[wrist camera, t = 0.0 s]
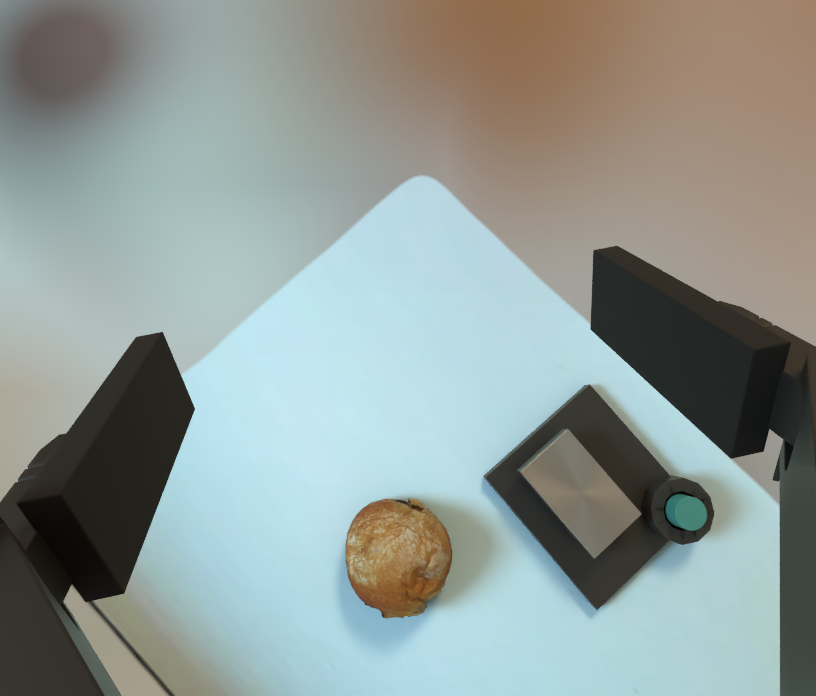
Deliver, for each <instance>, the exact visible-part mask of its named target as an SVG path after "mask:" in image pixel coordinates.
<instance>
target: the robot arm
mask: <svg viewBox="0 0 816 696" xmlns="http://www.w3.org/2000/svg"><path fill="white" fill-rule="evenodd" d="M592 282H593V283H592V308H591V330H592V331H593V332H594V333H595V334H596V335H597V336H598V337H599V338H600V339H601V340H603V341H604V342H605V343H606V344H607V345H608V346H609V347H610V348H611V349H612V350H613V351H615V352H616V353H617V354H618V355H619V356H620V357H621V358H622V359H623V360H624V361H625V362H626V363H628V364H629V365H630V366H631V367H632V368H633V369H634V370H635V371H636V372H637V373H638V374H640V375H641V376H642V377H643V378H644V379H645V380H646V381H647V382H648V383H649V384H650V385H651V386H653V387H654V388H655V389H656V390H657V391H658V392H659V393H660V394H661V395H662V396H663V397H665V398H666V399H667V400H668V401H669V402H670V403H671V404H672V405H673V406H674V407H675V408H676V409H678V410H679V411H680V412H681V413H682V414H683V415H684V416H685V417H686V418H687V419H688V420H690V421H691V422H692V423H693V424H694V425H695V426H696V427H697V428H698V429H699V430H700V431H701V432H703V433H704V434H705V435H706V436H707V437H708V438H709V439H710V440H711V441H712V442H713V443H715V444H716V445H717V446H718V447H719V448H720V449H721V450H722V451H723V452H724V453H725V454H726V455H728V456H729V457H730V458H731V459H732V458H735V457H741V456H745V455H750V454H754V453H758V452H763V451H764V447H765V443H766V439H767V436H768V431H769V429H771V430H772V431H774V432H775V433H776V434H777V435H778V436H780V437H781V438H782V439H784V440H783V444H782V447H781V451H780V454H779V458H778V462H777V465H776V469H775V473H774V476H773V480H775V481H779V480H780V696H816V347H815V346H813V345H811V344H810V343H808V342H806V341H804V340H802V339H800V338H798V337H796V336H795V335H793V334H791V333H789V332H787V331H785V330H783V329H782V328H780V327H778V326H775V325H774V326H773V325H772V323H770V322H769V321H767V320H765V319H763V318H760V319H759V316H757V315H756V314H753V313H752V312H750V311H748V310H746V309H744V308H742V307H739V306H736V305H732V304H728V303H725V302H722V301H718V302H717V301H715V300H714V299H712V298H710V297H708V296H706V295H705V294H703V293H701V292H699V291H697V290H696V289H694V288H692V287H690V286H688V285H687V284H685V283H683V282H681V281H679V280H678V279H676V278H674V277H672V276H671V275H669V274H667V273H665V272H663V271H662V270H660V269H658V268H656V267H654V266H653V265H651V264H649V263H647V262H645V261H644V260H642V259H640V258H638V257H636V256H635V255H633V254H631V253H629V252H627V251H625V250H624V249H622V248H620V247H618V246H614V247H609V248H603V249H598V250H594V254H593V280H592ZM194 410H195V408H194V405H193V403H192V401H191V398H190V396H189V394H188V391H187V389H186V386H185V384H184V382H183V379H182V377H181V374H180V372H179V370H178V367H177V365H176V363H175V360H174V358H173V355H172V353H171V351H170V348H169V346H168V344H167V341H166V339H165V336H164V334H163V332H160V333H155V334H150V335H145V336H139V337H136V338H135V339H134V341H133V342H132V344H131V345H130V346H129V348H128V349H127V350H126V352H125V353H124V355H123V356H122V357H121V359H120V360H119V361H118V363H117V364H116V366H115V367H114V368H113V370H112V371H111V373H110V374H109V375H108V377H107V378H106V380H105V381H104V382H103V384H102V385H101V387H100V388H99V389H98V391H97V392H96V393H95V395H94V396H93V398H92V399H91V400H90V402H89V403H88V405H87V406H86V407H85V409H84V410H83V411H82V413H81V414H80V416H79V417H78V418H77V420H76V421H75V422H74V424H73V425H72V427H71V428H70V429H69V431H68V432H67V433H66V434H61V435H58V436H57V437H56V438H55V439H53V440H52V441H51V442H50V443H48V444H47V445H46V446H45V447H43V448H42V449H41V450H40V451H39V452H38V454H37V455H36V456H35V457H34V459H33V460H32V461H31V463H30V464H29V465H28V469H26V470H24V472H23V473H22V474H21V476H20V477H19V478H18V482H17V483H15V484H14V485H13V486H12V488H11V489H10V490H9V491H8V493H7V494H6V495H5V497H4V498H3V499H2V501H1V502H0V696H121V694H120V692H119V691H118V689H117V687H116V686H115V684H114V682H113V681H112V679H111V678H110V676H109V674H108V672H107V671H106V669H105V668H104V666H103V664H102V663H101V661H100V659H99V658H98V656H97V654H96V653H95V651H94V649H93V648H92V646H91V644H90V643H89V641H88V640H87V638H86V636H85V635H84V633H83V631H82V630H81V628H80V626H79V625H78V623H77V621H76V620H75V618H74V617H73V615H72V613H71V612H70V610H69V609H68V608H67V606H66V605H65V604H64V602H63V600H64V598H65V596H66V594H67V592H68V590H69V588H70V586H71V584H73V585H74V587H75V588H76V589H77V591H78V592H79V594H80V595H81V596H82V598H83V599H84V601H85V602H88V601H93V600H97V599H102V598H106V597H111V596H115V595H120V594H124V592H125V590H126V587H127V585H128V582H129V579H130V577H131V574H132V571H133V569H134V566H135V564H136V561H137V558H138V556H139V553H140V551H141V548H142V545H143V543H144V540H145V538H146V535H147V532H148V530H149V527H150V525H151V522H152V519H153V517H154V514H155V512H156V509H157V506H158V504H159V501H160V499H161V496H162V493H163V491H164V488H165V486H166V483H167V480H168V478H169V475H170V472H171V470H172V467H173V465H174V462H175V459H176V457H177V454H178V452H179V449H180V446H181V444H182V441H183V439H184V436H185V433H186V431H187V428H188V426H189V423H190V420H191V418H192V415H193V413H194Z"/></svg>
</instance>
